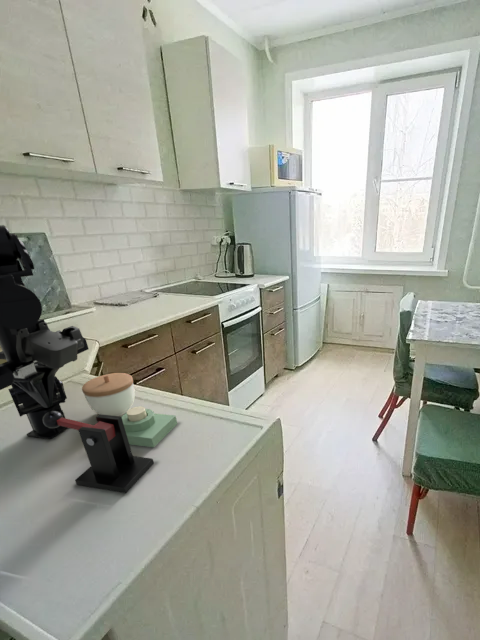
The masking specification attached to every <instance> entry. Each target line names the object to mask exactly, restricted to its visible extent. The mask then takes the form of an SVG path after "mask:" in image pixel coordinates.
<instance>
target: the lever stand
mask: <svg viewBox="0 0 480 640" xmlns="http://www.w3.org/2000/svg"><path fill="white" fill-rule="evenodd" d="M121 416H122V415H121ZM121 416H111V415H102V414H98V415H97V416H96V417H95V419H96V423H98V422H99V421H101V422H105V423H109V424H113V425H114V429H115V435H116V436H115V437H114V438H112V439H111V440H110V441H108V438H107V434H106V431H105V429H98V428H90V427H81V428H80V429H79V430H77V431H78V433H79V436H80V439H81V442H82V445H83V448H84V450H85V453H86V455H87V458H88V462H89V464H90V466H89V467H88V468H87V469H86V470H85V471H84V472H82V473H81V474H80V475H79V476H78V477H77V478H75V479H74V481H75V484H76V486H79V487H86V488H91V489H96V490H104V491H109V492H115V493H121V494H127V493H128V492H129V491H130V490H131V489H132V488H133V487H134V486H135V485H136V483H137V482H138V481H139V480H140V479H141V478H142V477H143V476H144V475H145V474H146V473H147V472H148V471H149V470H150V468H151V467H152V466H153V465H154V464H155V463H154V459H153V458H151V457H143V456H137V455H136V456H135V455H133V452H132V448H131V444H129V441H128V438H127V434H126V431H125V428H124V424H123V421H122V417H121Z"/></svg>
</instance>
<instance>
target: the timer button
mask: <svg viewBox="0 0 480 640" xmlns="http://www.w3.org/2000/svg"><path fill="white" fill-rule="evenodd" d="M145 409H146V408H145V407H144V406H142V405H141V406H140V405H139V406H133V407H130V409H129V410H128V411H127V416H128V420H129V421H131V422H135V421H140V420H142V419H144V418H146V417H147V414H146V411H145Z"/></svg>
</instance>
